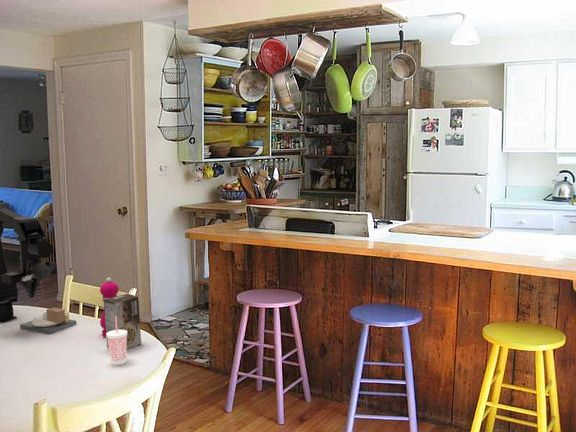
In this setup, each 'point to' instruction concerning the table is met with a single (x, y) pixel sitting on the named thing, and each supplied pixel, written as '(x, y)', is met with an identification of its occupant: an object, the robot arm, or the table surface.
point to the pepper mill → (108, 292)
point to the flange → (50, 318)
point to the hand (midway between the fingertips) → (31, 297)
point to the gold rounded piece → (66, 318)
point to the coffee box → (124, 317)
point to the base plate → (47, 329)
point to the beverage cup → (117, 345)
